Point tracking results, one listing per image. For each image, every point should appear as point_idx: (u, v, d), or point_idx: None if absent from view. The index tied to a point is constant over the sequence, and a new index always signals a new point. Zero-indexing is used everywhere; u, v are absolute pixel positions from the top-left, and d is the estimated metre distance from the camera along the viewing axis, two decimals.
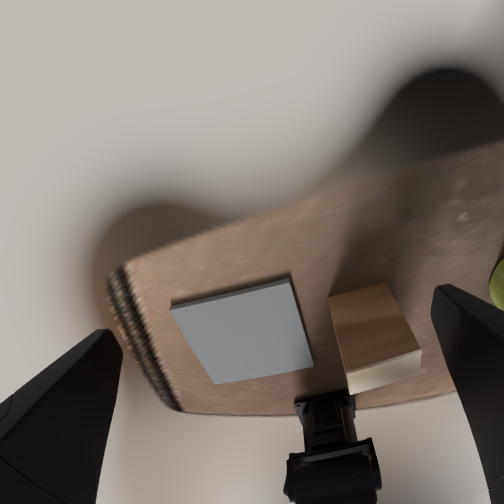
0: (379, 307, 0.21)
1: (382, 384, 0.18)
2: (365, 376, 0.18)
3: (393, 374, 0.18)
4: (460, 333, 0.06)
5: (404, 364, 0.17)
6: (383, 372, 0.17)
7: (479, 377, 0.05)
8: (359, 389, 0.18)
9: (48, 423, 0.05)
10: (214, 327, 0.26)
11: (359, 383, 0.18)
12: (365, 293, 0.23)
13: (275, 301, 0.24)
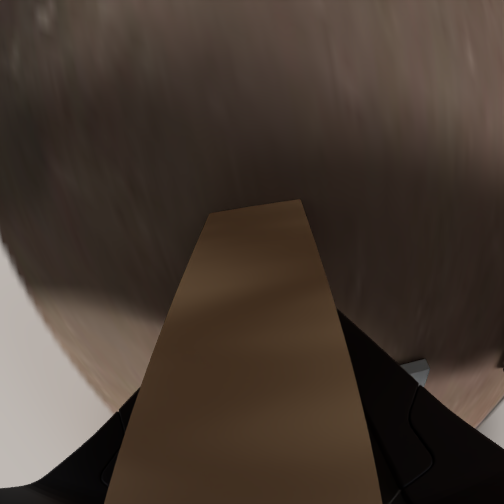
0: None
1: None
2: None
3: None
4: None
5: None
6: None
7: None
8: None
9: None
10: None
11: None
12: None
13: None
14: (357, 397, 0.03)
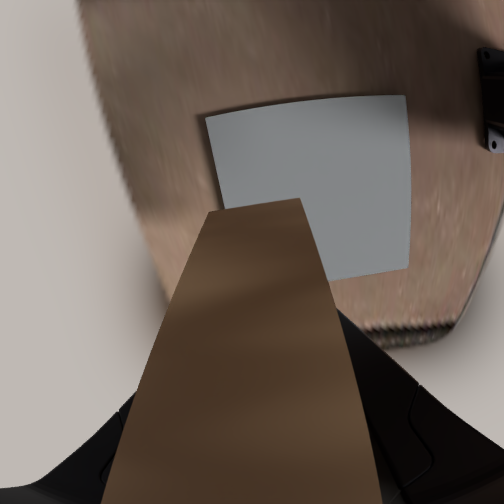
0: None
1: None
2: None
3: None
4: None
5: None
6: None
7: None
8: None
9: None
10: None
11: None
12: None
13: (239, 140, 0.14)
14: (357, 395, 0.03)
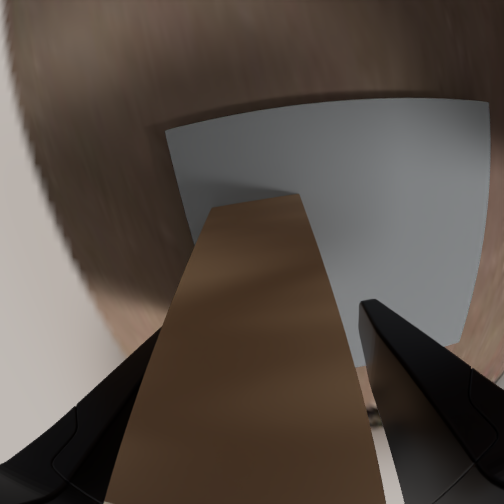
0: None
1: None
2: None
3: None
4: (376, 354, 0.06)
5: None
6: None
7: (393, 404, 0.05)
8: None
9: None
10: None
11: None
12: None
13: (225, 170, 0.08)
14: (352, 369, 0.03)
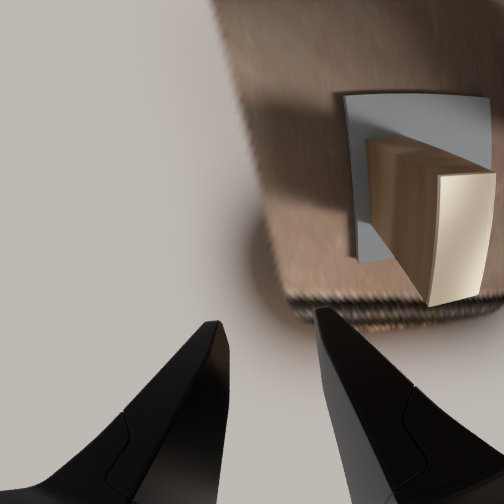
0: (385, 176, 0.13)
1: (485, 244, 0.09)
2: (450, 278, 0.10)
3: (472, 228, 0.09)
4: (324, 363, 0.06)
5: (458, 209, 0.09)
6: (458, 247, 0.09)
7: (337, 415, 0.05)
8: (475, 281, 0.10)
9: (182, 442, 0.04)
10: None
11: (461, 284, 0.10)
12: (372, 177, 0.15)
13: (373, 120, 0.15)
14: (468, 160, 0.09)
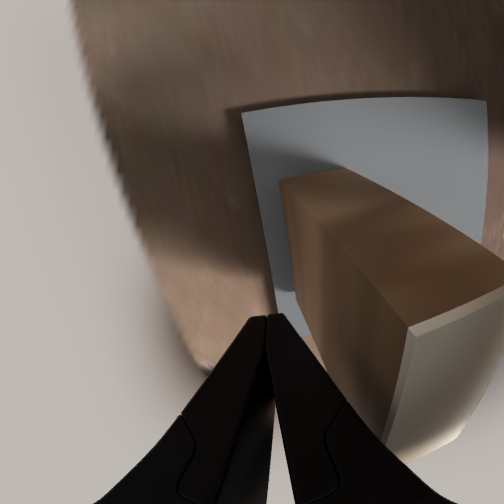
0: (307, 250, 0.09)
1: (480, 391, 0.05)
2: (412, 447, 0.05)
3: (464, 384, 0.04)
4: None
5: (444, 374, 0.04)
6: (431, 417, 0.04)
7: None
8: (453, 431, 0.05)
9: (248, 442, 0.04)
10: None
11: (430, 444, 0.05)
12: (292, 241, 0.11)
13: (289, 147, 0.10)
14: (466, 236, 0.05)
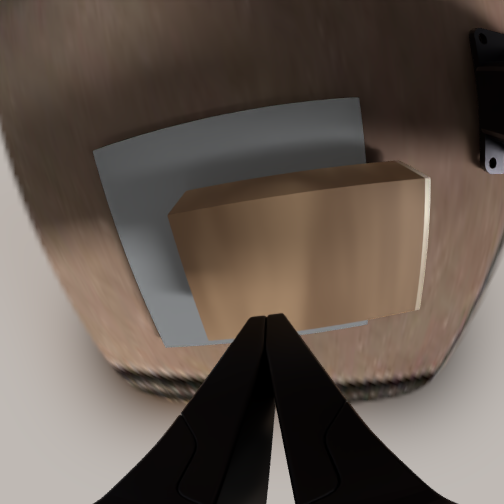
0: (268, 241, 0.09)
1: None
2: None
3: None
4: None
5: None
6: None
7: None
8: None
9: (248, 442, 0.04)
10: None
11: None
12: (208, 268, 0.10)
13: (132, 176, 0.11)
14: None
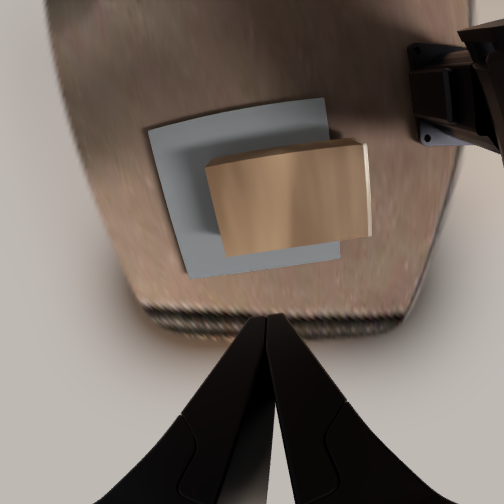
0: (266, 183, 0.15)
1: None
2: None
3: None
4: None
5: None
6: None
7: None
8: None
9: (248, 442, 0.04)
10: (217, 232, 0.19)
11: None
12: (228, 202, 0.16)
13: (175, 148, 0.17)
14: None
